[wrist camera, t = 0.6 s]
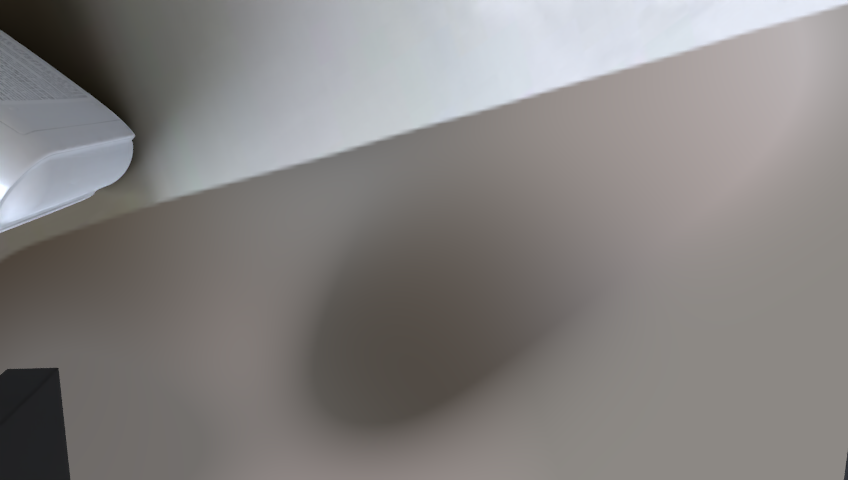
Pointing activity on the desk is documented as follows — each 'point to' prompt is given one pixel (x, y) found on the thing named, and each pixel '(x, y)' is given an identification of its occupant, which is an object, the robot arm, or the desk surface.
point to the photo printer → (52, 139)
